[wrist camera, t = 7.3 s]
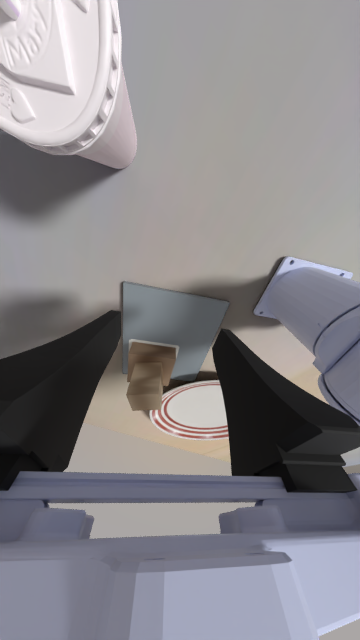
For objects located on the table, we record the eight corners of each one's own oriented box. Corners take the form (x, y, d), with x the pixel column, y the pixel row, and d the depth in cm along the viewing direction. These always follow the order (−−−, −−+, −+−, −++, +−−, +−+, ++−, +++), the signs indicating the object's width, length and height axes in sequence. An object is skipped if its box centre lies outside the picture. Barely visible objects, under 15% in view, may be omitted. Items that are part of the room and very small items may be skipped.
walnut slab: (175, 347, 24) (175, 359, 22) (168, 373, 28) (168, 386, 26) (132, 341, 24) (128, 353, 21) (131, 369, 27) (127, 381, 25)
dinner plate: (145, 424, 41) (142, 438, 39) (161, 358, 26) (159, 374, 24) (235, 430, 46) (239, 444, 43) (293, 377, 31) (304, 392, 28)
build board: (228, 301, 21) (229, 303, 20) (194, 379, 30) (194, 381, 30) (124, 281, 19) (123, 282, 18) (123, 370, 28) (122, 373, 28)
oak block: (161, 362, 23) (158, 393, 18) (163, 378, 25) (161, 409, 21) (135, 362, 23) (126, 394, 18) (139, 378, 25) (132, 410, 21)
